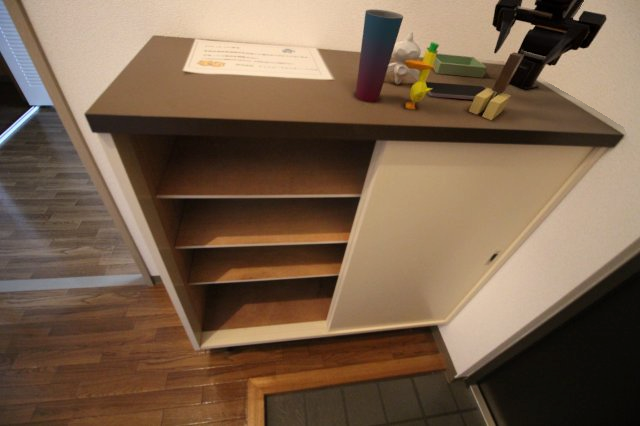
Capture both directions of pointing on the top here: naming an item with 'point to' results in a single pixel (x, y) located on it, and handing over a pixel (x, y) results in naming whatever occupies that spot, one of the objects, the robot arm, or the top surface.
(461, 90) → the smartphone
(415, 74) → the figurine
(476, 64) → the tray
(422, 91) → the toy figure
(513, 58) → the knife
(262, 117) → the top surface
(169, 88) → the top surface
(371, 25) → the cup
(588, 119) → the top surface
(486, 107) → the butter
